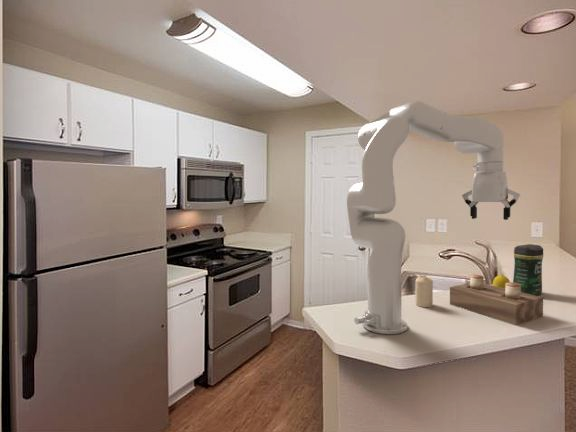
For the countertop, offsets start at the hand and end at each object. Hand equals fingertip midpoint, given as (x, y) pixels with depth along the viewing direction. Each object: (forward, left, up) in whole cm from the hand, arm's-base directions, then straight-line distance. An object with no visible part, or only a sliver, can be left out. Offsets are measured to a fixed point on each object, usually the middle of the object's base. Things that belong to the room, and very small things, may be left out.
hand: (489, 218), depth 118 cm
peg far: (-5, +1, -25) cm, 26 cm away
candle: (-20, +10, -30) cm, 37 cm away
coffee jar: (+23, 0, -30) cm, 38 cm away
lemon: (+12, +3, -30) cm, 32 cm away
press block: (-5, -5, -29) cm, 30 cm away
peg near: (-5, -11, -25) cm, 28 cm away
